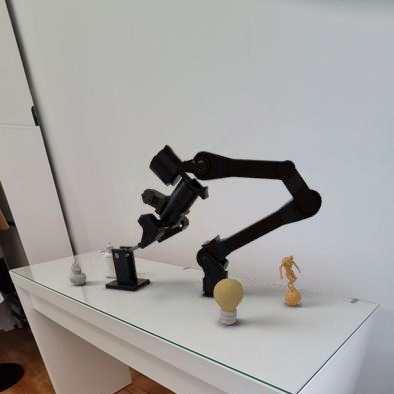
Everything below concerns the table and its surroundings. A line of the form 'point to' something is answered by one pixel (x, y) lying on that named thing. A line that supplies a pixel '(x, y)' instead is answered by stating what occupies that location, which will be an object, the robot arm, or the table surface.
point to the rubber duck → (77, 275)
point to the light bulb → (228, 299)
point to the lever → (131, 249)
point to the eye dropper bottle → (109, 261)
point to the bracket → (125, 271)
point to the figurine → (293, 294)
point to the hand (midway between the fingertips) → (150, 244)
